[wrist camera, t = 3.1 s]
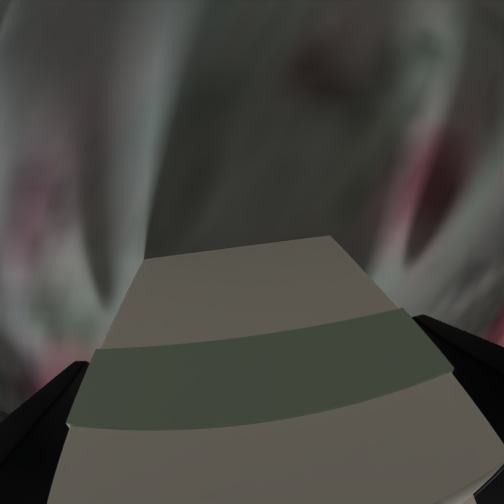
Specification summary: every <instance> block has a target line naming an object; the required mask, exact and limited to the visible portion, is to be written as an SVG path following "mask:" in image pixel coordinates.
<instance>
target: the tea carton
mask: <svg viewBox="0 0 504 504" xmlns="http://www.w3.org/2000/svg"><path fill="white" fill-rule="evenodd" d="M453 370H454V367H453V366H452V365H451V363H450V362H449V361H448V360H447V358H446V357H445V356H444V355H443V354H442V352H441V351H440V350H439V349H438V348H437V346H436V345H435V344H434V343H433V342H432V341H431V339H430V338H429V337H428V336H427V335H426V334H425V332H424V331H423V330H422V329H421V328H420V327H419V326H418V324H417V323H416V322H415V321H414V320H413V319H412V318H411V316H410V315H409V314H408V313H407V312H406V311H405V310H404V309H403V308H400V309H398V308H397V307H396V306H395V305H394V304H393V302H392V301H391V300H390V299H389V298H388V297H387V296H386V295H385V293H384V292H383V291H382V290H381V289H380V288H379V287H378V286H377V285H376V284H375V282H374V281H373V280H372V279H371V278H370V277H369V276H368V275H367V274H366V273H365V272H364V270H363V269H362V268H361V267H360V266H359V265H358V264H357V263H356V262H355V261H354V260H353V259H352V258H351V257H350V256H349V255H348V253H347V252H346V251H345V250H344V249H343V248H342V247H341V246H340V245H339V244H338V243H337V242H336V241H335V240H334V239H333V238H332V237H331V236H330V235H329V236H321V237H313V238H305V239H297V240H289V241H281V242H273V243H265V244H257V245H249V246H241V247H234V248H226V249H218V250H210V251H203V252H195V253H187V254H180V255H172V256H165V257H157V258H150V259H144V260H143V262H142V264H141V266H140V268H139V270H138V272H137V273H136V275H135V277H134V279H133V281H132V283H131V285H130V287H129V289H128V291H127V293H126V295H125V298H124V300H123V302H122V304H121V306H120V308H119V310H118V312H117V314H116V316H115V318H114V321H113V323H112V325H111V327H110V329H109V332H108V334H107V336H106V338H105V340H104V343H103V345H102V347H101V349H96V350H95V353H94V355H93V357H92V359H91V362H90V364H89V366H88V369H87V371H86V373H85V376H84V378H83V380H82V383H81V385H80V388H79V390H78V393H77V395H76V398H75V400H74V403H73V405H72V408H71V411H70V413H69V416H68V418H67V421H66V424H67V426H68V427H69V428H70V429H69V432H68V434H67V437H66V440H65V443H64V446H63V449H62V453H61V456H60V459H59V462H58V465H57V469H56V472H55V476H54V479H53V483H52V486H51V490H50V494H49V497H48V501H47V504H462V503H463V502H464V501H465V500H466V499H468V498H469V497H470V496H471V495H472V494H474V493H475V492H476V491H477V490H478V489H479V488H480V487H481V486H482V485H483V484H484V483H485V482H486V481H488V480H489V479H490V478H491V477H492V476H493V475H494V474H495V473H496V472H497V471H498V469H499V468H500V467H501V466H502V465H503V464H504V444H503V442H502V441H501V439H500V438H499V437H498V435H497V434H496V432H495V431H494V429H493V428H492V426H491V425H490V424H489V422H488V421H487V419H486V418H485V417H484V415H483V414H482V413H481V411H480V410H479V408H478V407H477V406H476V404H475V403H474V402H473V400H472V399H471V398H470V396H469V395H468V394H467V392H466V391H465V390H464V388H463V387H462V386H461V384H460V383H459V382H458V381H457V379H456V378H455V377H454V375H453V374H452V373H453Z"/></svg>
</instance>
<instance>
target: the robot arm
mask: <svg viewBox="0 0 504 504" xmlns="http://www.w3.org/2000/svg"><path fill="white" fill-rule="evenodd" d="M412 319H413V320H414V321H415V322H416V323H417V324H418V326H419V327H420V328H421V329H422V330H423V331H424V332H425V334H426V335H427V336H428V337H429V338H430V339H431V341H432V342H433V343H434V344H435V345H436V346H437V348H438V349H439V350H440V351H441V352H442V354H443V355H444V356H445V357H446V358H447V360H448V361H449V362H450V363H451V365H452V366H453V367H454V370H453V373H452V374H453V375H454V377H455V378H456V379H457V381H458V382H459V383H460V384H461V386H462V387H463V388H464V390H465V391H466V392H467V394H468V395H469V396H470V398H471V399H472V400H473V402H474V403H475V404H476V406H477V407H478V408H479V410H480V411H481V413H482V414H483V415H484V417H485V418H486V419H487V421H488V422H489V424H490V425H491V426H492V428H493V429H494V431H495V432H496V434H497V435H498V437H499V438H500V439H501V441H502V442H503V444H504V347H502V346H499V345H497V344H494V343H492V342H490V341H487V340H485V339H482V338H480V337H477V336H475V335H473V334H470V333H468V332H465V331H463V330H460V329H458V328H456V327H453V326H451V325H448V324H446V323H443V322H441V321H438V320H436V319H434V318H431V317H429V316H426V315H418V316H414V317H412ZM89 364H90V363H89V362H87V361H75V362H73V363H72V364H71V365H69V366H68V367H67V368H66V369H65V370H63V371H62V372H61V373H60V374H58V375H57V376H56V377H55V378H53V379H52V380H51V381H50V382H49V383H47V384H46V385H45V386H44V387H43V388H41V389H40V390H39V391H38V392H36V393H35V394H34V395H33V396H32V397H30V398H29V399H28V400H27V401H26V402H24V403H23V404H22V405H21V406H20V407H18V408H17V409H16V410H15V411H14V412H12V413H11V414H10V415H9V416H8V417H7V418H5V419H4V420H3V421H2V422H1V423H0V504H47V501H48V497H49V494H50V490H51V486H52V483H53V479H54V476H55V472H56V469H57V465H58V462H59V459H60V456H61V453H62V449H63V446H64V443H65V440H66V437H67V434H68V432H69V429H70V428H69V427H68V426H67V424H66V421H67V418H68V416H69V413H70V411H71V408H72V405H73V403H74V400H75V398H76V395H77V393H78V390H79V388H80V385H81V383H82V380H83V378H84V376H85V373H86V371H87V369H88V366H89ZM473 495H474V498H475V501H476V503H477V504H504V464H503V465H502V466H501V467H500V468H499V469H498V471H497V472H496V473H495V474H494V475H493V476H492V477H491V478H490V479H489V480H488V481H486V482H485V483H484V484H483V485H482V486H481V487H480V488H479V489H478V490H477V491H476V492H475V493H474V494H473Z"/></svg>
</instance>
